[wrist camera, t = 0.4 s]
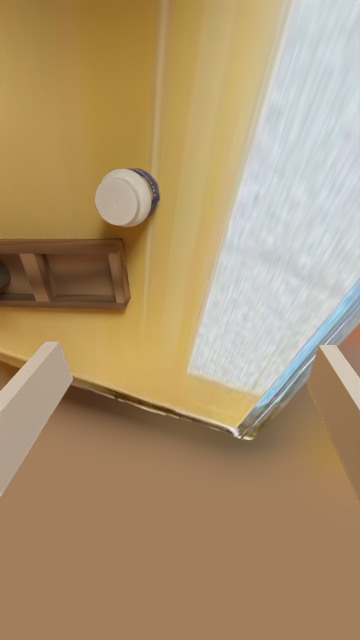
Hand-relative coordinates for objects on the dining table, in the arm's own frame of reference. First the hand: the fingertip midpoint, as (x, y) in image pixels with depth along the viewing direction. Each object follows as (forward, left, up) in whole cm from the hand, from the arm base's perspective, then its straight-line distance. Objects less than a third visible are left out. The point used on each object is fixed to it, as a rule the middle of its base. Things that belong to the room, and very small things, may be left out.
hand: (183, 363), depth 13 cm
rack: (+4, -22, -24) cm, 33 cm away
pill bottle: (-6, -7, -24) cm, 26 cm away
